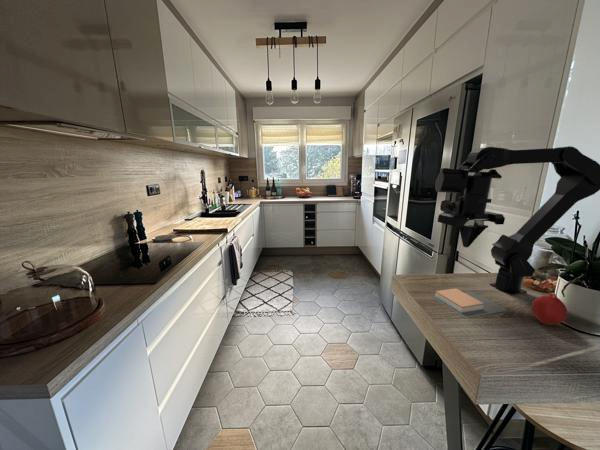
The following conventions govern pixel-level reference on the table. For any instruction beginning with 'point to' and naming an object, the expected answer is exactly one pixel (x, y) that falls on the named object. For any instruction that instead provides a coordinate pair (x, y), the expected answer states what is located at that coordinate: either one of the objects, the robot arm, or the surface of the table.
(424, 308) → the table surface
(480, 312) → the mat
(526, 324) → the table surface
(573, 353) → the table surface
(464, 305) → the tile
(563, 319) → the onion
